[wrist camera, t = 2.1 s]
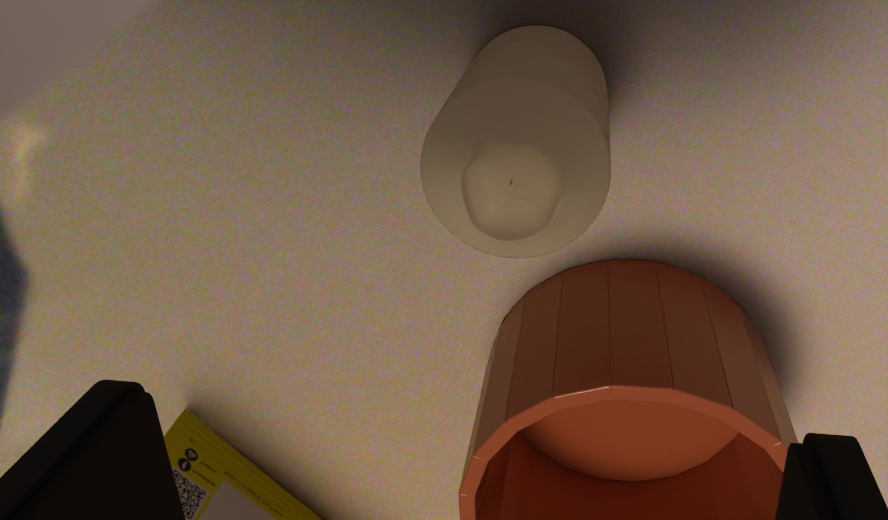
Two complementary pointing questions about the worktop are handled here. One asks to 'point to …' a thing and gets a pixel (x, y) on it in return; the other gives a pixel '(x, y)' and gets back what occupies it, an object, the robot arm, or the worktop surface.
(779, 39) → the worktop surface
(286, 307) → the worktop surface
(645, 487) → the pot cup
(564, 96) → the candle
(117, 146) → the worktop surface
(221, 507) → the food package
